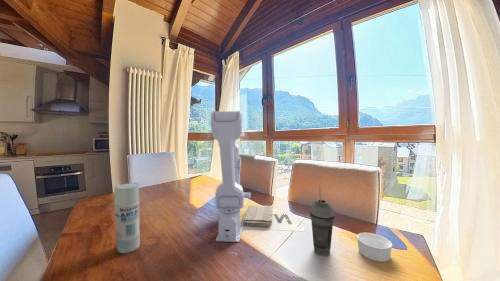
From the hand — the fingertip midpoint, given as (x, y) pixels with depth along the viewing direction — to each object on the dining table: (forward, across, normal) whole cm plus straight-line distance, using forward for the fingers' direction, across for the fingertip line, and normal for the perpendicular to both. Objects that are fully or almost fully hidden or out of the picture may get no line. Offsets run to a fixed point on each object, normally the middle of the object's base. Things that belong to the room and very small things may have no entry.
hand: (234, 213), depth 84 cm
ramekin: (+2, -46, +22) cm, 51 cm away
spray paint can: (+2, +30, +25) cm, 39 cm away
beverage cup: (+2, -31, +22) cm, 38 cm away
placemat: (+1, -16, 0) cm, 16 cm away
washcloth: (+2, -11, 0) cm, 11 cm away
